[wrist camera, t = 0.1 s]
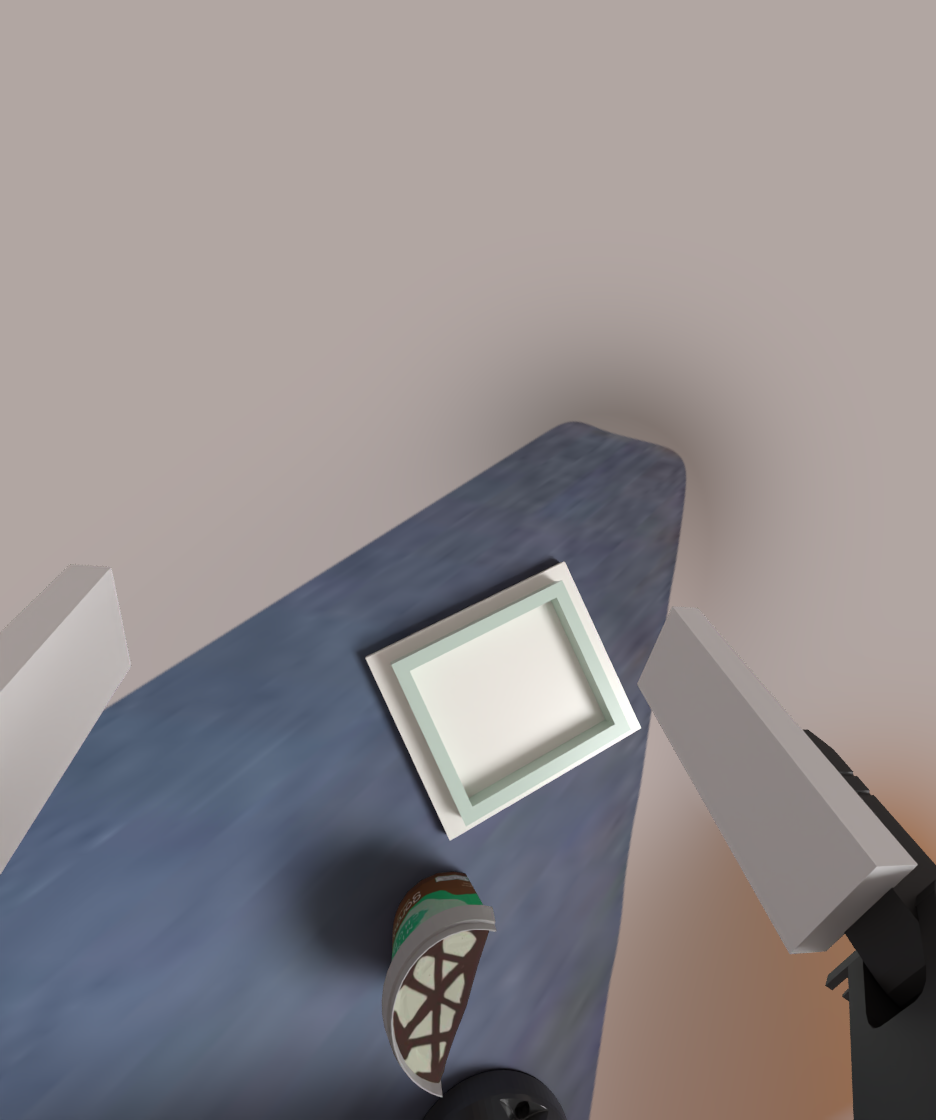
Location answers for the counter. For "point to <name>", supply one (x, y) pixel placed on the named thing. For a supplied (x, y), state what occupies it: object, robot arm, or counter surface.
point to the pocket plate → (503, 697)
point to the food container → (432, 972)
